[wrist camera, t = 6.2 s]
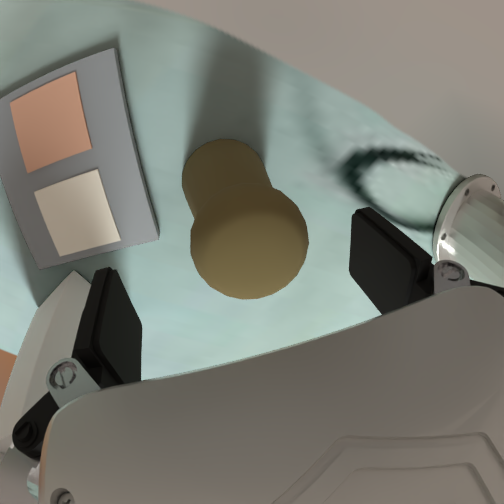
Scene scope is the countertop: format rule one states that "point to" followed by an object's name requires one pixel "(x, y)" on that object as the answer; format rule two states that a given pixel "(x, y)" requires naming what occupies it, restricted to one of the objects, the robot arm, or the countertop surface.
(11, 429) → the milk carton
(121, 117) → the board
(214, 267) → the cork
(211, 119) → the countertop surface
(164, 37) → the countertop surface
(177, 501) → the robot arm
